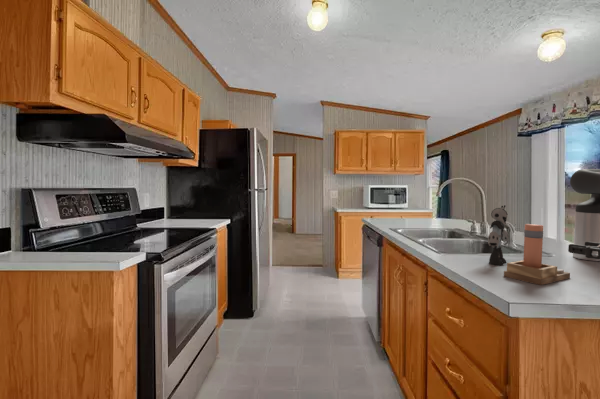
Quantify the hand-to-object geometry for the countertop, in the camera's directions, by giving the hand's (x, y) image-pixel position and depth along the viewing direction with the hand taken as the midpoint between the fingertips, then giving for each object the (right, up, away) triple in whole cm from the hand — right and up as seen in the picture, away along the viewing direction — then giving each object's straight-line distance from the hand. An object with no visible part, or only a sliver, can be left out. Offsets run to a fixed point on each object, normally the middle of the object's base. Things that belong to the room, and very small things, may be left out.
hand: (577, 246), depth 90 cm
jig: (-3, -10, +12) cm, 16 cm away
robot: (-4, -10, +29) cm, 31 cm away
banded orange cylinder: (-5, -9, +10) cm, 14 cm away
